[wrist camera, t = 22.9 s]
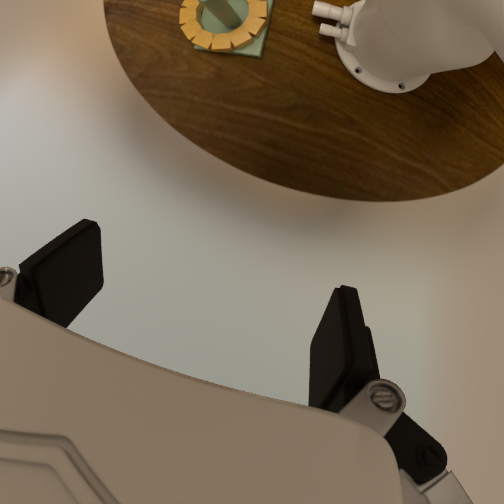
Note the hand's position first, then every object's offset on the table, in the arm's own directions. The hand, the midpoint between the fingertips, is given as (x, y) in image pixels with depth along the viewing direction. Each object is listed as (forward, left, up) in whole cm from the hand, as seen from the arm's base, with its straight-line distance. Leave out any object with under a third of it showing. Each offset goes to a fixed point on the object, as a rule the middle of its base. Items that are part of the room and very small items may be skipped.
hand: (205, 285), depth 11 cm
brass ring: (-9, +17, -27) cm, 33 cm away
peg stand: (-8, +16, -28) cm, 33 cm away
